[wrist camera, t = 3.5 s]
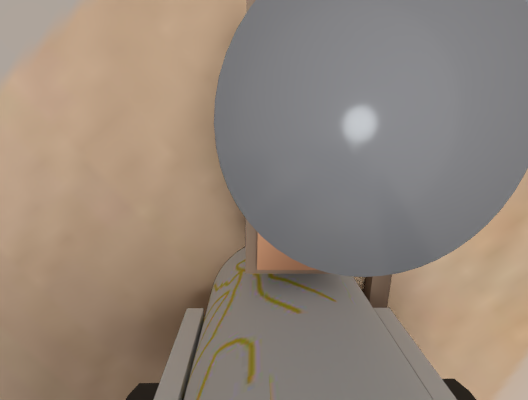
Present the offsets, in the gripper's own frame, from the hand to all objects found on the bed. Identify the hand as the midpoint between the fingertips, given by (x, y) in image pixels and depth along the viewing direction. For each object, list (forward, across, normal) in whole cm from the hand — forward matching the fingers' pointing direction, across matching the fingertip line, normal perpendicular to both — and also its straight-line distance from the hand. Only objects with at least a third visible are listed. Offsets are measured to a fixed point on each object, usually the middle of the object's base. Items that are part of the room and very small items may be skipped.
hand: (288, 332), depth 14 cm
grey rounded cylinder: (+2, 0, +10) cm, 10 cm away
